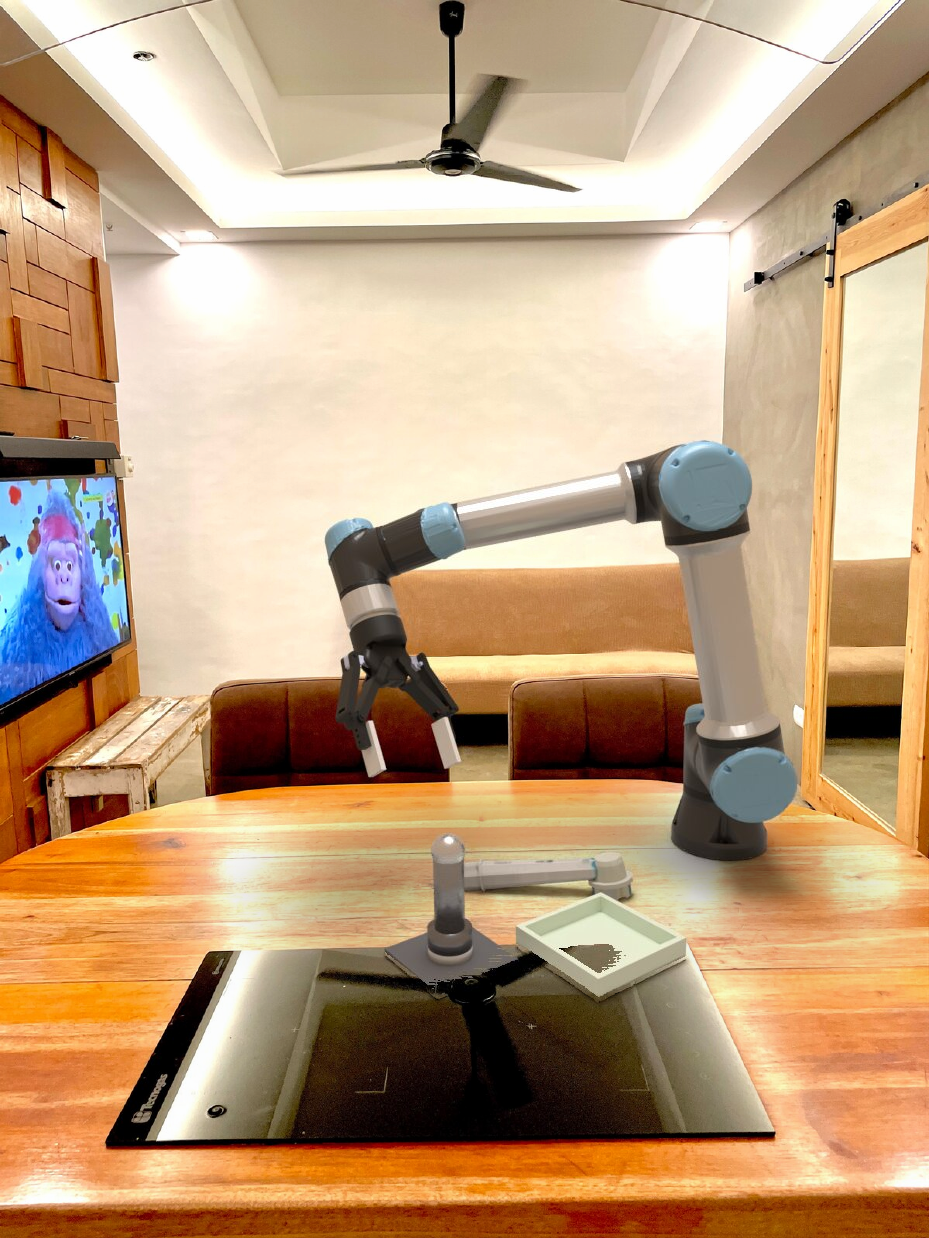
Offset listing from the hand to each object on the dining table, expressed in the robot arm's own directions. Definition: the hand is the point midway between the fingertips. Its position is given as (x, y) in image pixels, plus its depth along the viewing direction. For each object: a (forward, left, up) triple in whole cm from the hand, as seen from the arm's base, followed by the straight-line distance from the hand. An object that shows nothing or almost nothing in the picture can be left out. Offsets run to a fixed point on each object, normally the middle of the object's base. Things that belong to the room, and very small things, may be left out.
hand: (416, 769), depth 114 cm
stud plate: (+2, +9, -22) cm, 24 cm away
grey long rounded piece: (-20, +2, -23) cm, 30 cm away
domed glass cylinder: (+2, +9, -20) cm, 22 cm away
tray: (-14, +19, -22) cm, 33 cm away
